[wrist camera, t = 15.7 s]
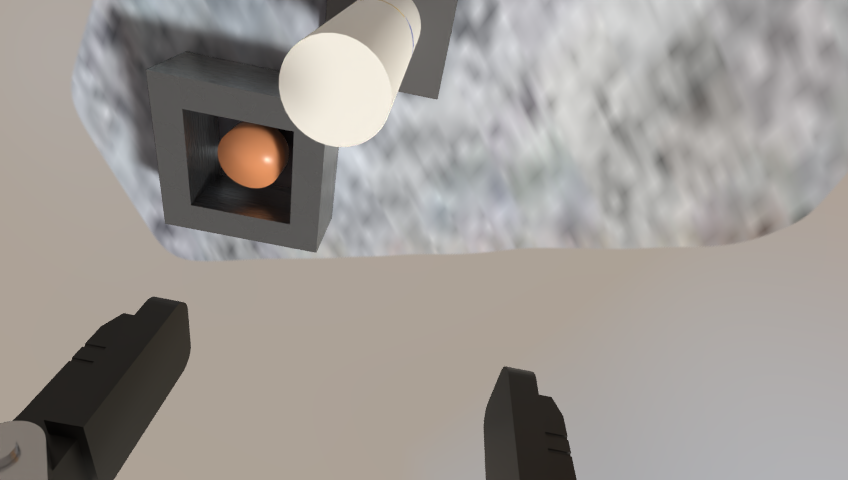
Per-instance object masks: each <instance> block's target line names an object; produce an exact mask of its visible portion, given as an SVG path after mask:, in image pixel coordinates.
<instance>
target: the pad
mask: <svg viewBox="0 0 848 480" xmlns="http://www.w3.org/2000/svg"><path fill="white" fill-rule="evenodd" d="M356 1H357V0H327V6H326V20H325V23H326V22H328V21H329V20H330V19H332V18H333V17H335V16H336V15H337V14H339V13H340V12H342V11H343V10H345V9H346V8H347V7H349V6H350V5H352V4H353V3H354V2H356ZM412 1H413V2H414V4H415V5H416V7H417V10H418V12H419V15H420V20H421V30H420V36H419V39H418V41H417V44H416V46H415V49H414V52H413V54H412V57H411V59H410V62H409V64H408V67H407V70H406V72H405V75H404V77H403V80H402V82H401V85H400V87H399V90H398V91H399V92H404V93H409V94H413V95H418V96H423V97H428V98H432V99H438V94H439V89H440V84H441V79H442V74H443V69H444V65H445V60H446V55H447V50H448V45H449V40H450V35H451V31H452V26H453V21H454V16H455V11H456V6H457V1H458V0H412Z"/></svg>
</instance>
